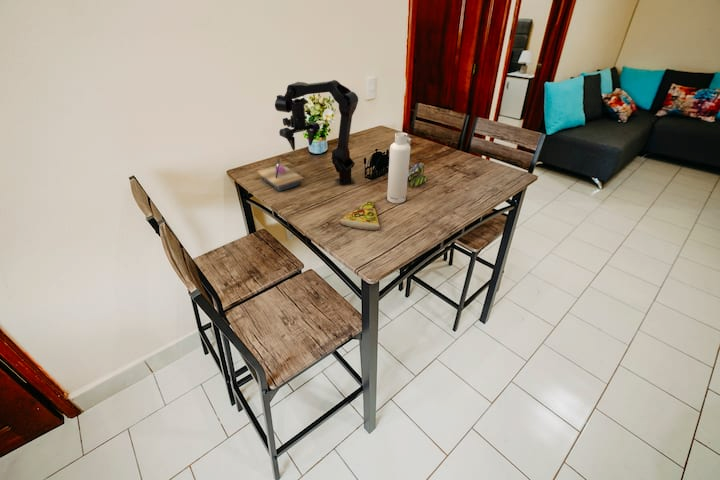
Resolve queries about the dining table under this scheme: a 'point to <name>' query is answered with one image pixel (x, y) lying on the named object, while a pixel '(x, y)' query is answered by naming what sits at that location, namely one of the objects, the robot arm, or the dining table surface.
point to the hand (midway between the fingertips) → (302, 147)
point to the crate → (283, 186)
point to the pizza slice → (362, 218)
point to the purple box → (279, 168)
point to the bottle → (398, 169)
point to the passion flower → (418, 177)
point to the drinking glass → (408, 140)
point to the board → (279, 176)
